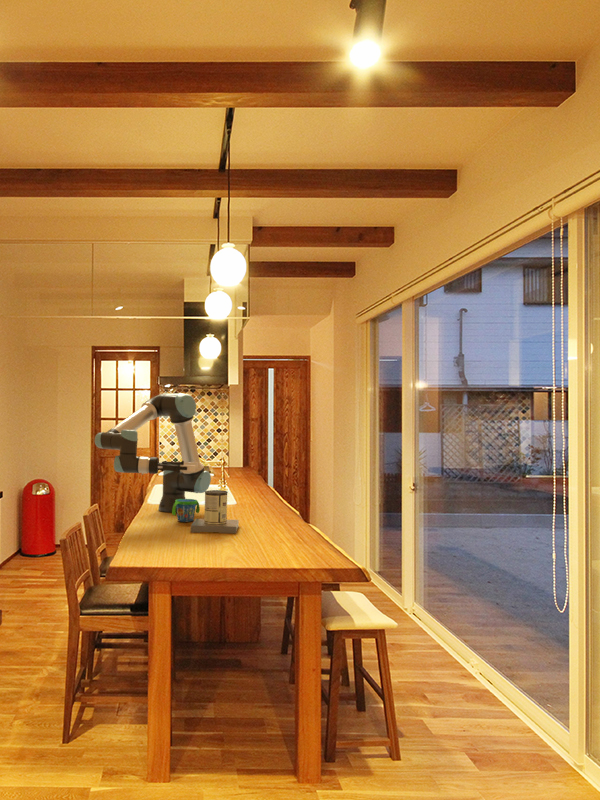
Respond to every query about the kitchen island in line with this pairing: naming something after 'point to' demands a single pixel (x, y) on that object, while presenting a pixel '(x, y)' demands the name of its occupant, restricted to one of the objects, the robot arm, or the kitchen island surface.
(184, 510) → the snack cup
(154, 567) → the kitchen island surface
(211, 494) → the coffee can
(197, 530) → the slate plinth
